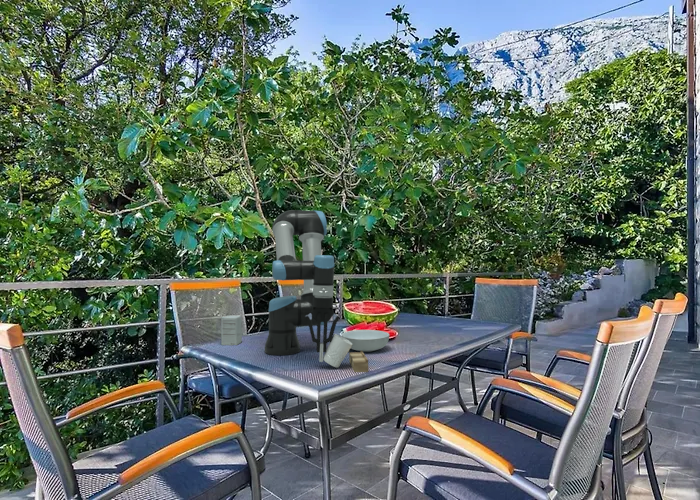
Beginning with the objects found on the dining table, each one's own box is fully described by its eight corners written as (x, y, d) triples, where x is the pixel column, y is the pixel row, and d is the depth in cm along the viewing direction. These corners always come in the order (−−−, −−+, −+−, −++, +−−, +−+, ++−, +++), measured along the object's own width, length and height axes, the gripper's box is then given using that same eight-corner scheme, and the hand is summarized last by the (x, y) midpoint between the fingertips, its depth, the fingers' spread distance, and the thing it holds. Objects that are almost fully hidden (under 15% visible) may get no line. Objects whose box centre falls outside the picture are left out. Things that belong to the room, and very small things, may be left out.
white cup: (317, 355, 159) (330, 331, 160) (333, 361, 164) (346, 338, 164) (327, 364, 153) (340, 339, 153) (343, 370, 157) (356, 346, 158)
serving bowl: (337, 345, 196) (337, 330, 196) (381, 343, 200) (381, 328, 200) (347, 356, 175) (347, 339, 175) (395, 353, 180) (396, 337, 180)
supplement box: (227, 342, 203) (227, 315, 203) (242, 342, 202) (242, 315, 202) (220, 345, 195) (220, 317, 195) (236, 345, 194) (236, 317, 195)
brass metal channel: (349, 361, 167) (349, 350, 167) (362, 361, 167) (362, 350, 167) (354, 372, 152) (354, 360, 152) (368, 371, 152) (368, 360, 152)
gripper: (305, 297, 154) (303, 363, 153) (340, 298, 155) (339, 363, 155) (305, 295, 161) (303, 358, 161) (339, 296, 163) (337, 358, 162)
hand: (321, 361), depth 158 cm, fingers closed
